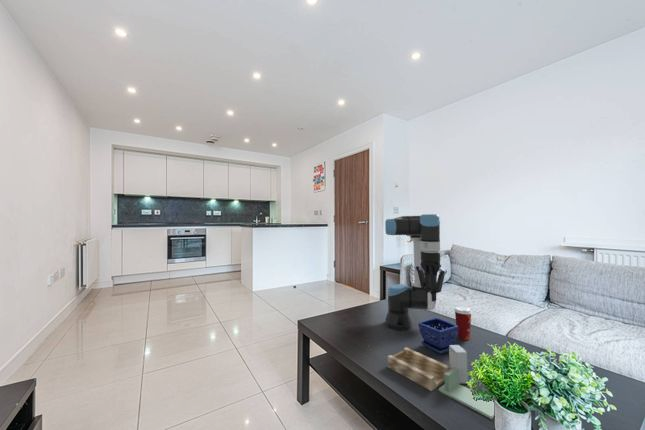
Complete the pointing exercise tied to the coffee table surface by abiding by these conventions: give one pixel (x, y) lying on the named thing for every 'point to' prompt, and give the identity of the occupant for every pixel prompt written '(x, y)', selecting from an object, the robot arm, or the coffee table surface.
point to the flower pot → (438, 334)
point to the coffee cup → (463, 322)
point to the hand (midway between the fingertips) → (431, 308)
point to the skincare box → (458, 361)
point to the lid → (465, 394)
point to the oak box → (418, 368)
